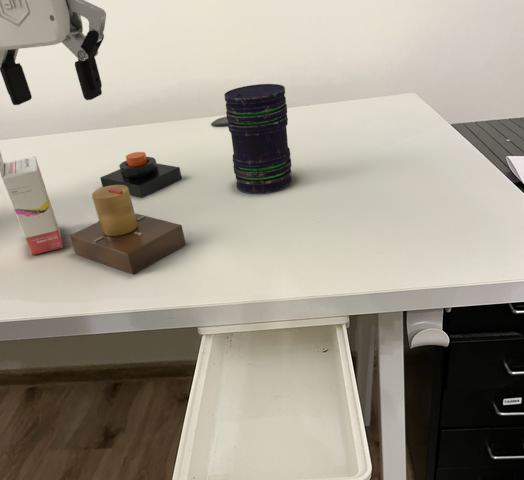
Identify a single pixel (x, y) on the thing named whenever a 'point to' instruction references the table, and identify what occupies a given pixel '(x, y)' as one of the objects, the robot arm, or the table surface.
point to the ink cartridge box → (31, 204)
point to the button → (136, 159)
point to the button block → (143, 177)
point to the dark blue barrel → (259, 137)
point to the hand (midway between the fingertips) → (57, 99)
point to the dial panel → (129, 244)
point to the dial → (115, 210)
